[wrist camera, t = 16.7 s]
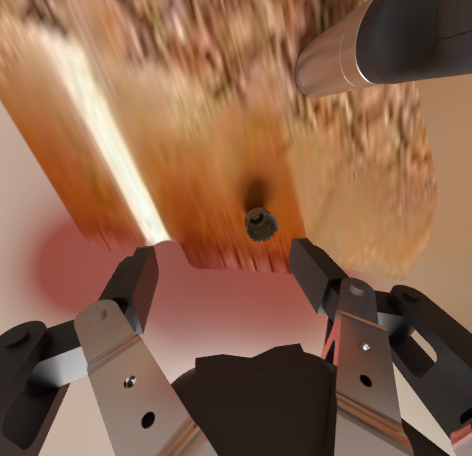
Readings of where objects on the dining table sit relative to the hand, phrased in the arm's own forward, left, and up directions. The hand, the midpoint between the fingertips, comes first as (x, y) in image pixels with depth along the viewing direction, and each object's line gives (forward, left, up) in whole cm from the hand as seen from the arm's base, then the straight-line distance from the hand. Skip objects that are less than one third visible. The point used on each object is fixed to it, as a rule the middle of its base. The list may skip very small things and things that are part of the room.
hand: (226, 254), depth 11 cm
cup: (-6, +17, -36) cm, 41 cm away
